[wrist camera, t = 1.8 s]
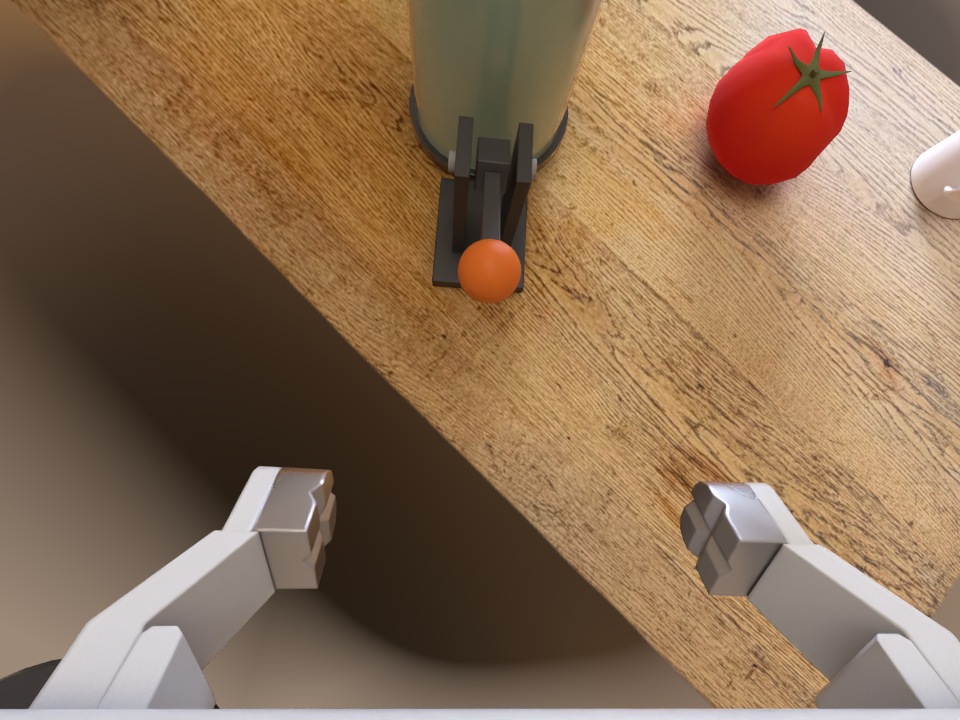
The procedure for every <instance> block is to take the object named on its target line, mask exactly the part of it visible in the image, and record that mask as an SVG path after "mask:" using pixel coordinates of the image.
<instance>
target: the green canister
mask: <svg viewBox="0 0 960 720" xmlns="http://www.w3.org/2000/svg"><path fill="white" fill-rule="evenodd" d="M406 3H407V14H408V25H409V37H410V48H411V59H412V71H413V85H412V88H411V92H410V98H409V109H410V118H411V125H412V129H413V132H414V135H415V137H416V139H417V142H418V143H419V145H420V146H421V148H422V150H423V151H424V152H425V153H426V155H427V156H428V157H429V158H430V159H431V160H432V161H433V162H434V163H435V164H436V165H438V166H439V167H440V168H442V169H443V170H444V171H446V172H448V158H449V151H450V150H453V151H456V146H457V133H458V121H459V116H465V117H473V118H474V125H473V139H472V152H471V166H470V179H469V181H475V170H476V158H477V147H478V138H479V137H487V138H497V139H507V140H510V162H511V158H512V153H513V149H514V144H515V140H516V135H517V131H518V126H519V123H530V124H534V134H533V157H532V159H537V170H536V172H537V171H538V170H540V169H541V168H542V167H544V166H545V165H546V164H547V163H548V162H549V161H550V160H551V158H552V157H553V156H554V155H555V153H556V151H557V150H558V148H559V146H560V144H561V141H562V139H563V136H564V133H565V130H566V126H567V120H568V103H569V100H570V97H571V94H572V92H573V89H574V86H575V83H576V80H577V77H578V74H579V72H580V69H581V66H582V63H583V60H584V57H585V54H586V52H587V49H588V46H589V43H590V40H591V37H592V34H593V32H594V29H595V26H596V23H597V20H598V17H599V14H600V12H601V9H602V6H603V3H604V0H406ZM448 173H450V172H448ZM450 174H451V175H453V176H454V173H450Z"/></svg>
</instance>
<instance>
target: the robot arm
mask: <svg viewBox="0 0 960 720" xmlns="http://www.w3.org/2000/svg"><path fill="white" fill-rule="evenodd" d="M332 486H333V475H332V471H330V470H322V469H304V468H287V467H283V468H280V467H262V466H259V467H258V468H256V469H255V470H254V471H253V472H252V474H251V476H250V478H249V480H248V482H247V484H246V485H245V487H244V489H243V491H242V493H241V495H240V497H239V499H238V501H237V503H236V505H235V506H234V508H233V510H232V513H231V514H230V516H229V518H228V520H227V522H226V524H225V526H224V527H223V529H222V531H213V532H212V533H210V534H209V535H207V536H206V537H205V538H203V539H202V540H201V541H199V542H198V543H196V544H195V545H194V546H192V547H191V548H190V549H188V550H187V551H185V552H184V553H182V554H181V555H180V556H179V557H177V558H176V559H174V560H173V561H171V562H170V563H169V564H167V565H166V566H165V567H163V568H162V569H160V570H159V571H158V572H156V573H155V574H153V575H152V576H151V577H149V578H148V579H147V580H145V581H144V582H142V583H141V584H140V585H138V586H137V587H136V588H134V589H133V590H132V591H130V592H129V593H127V594H126V595H124V596H123V597H122V598H120V599H119V600H117V601H116V602H115V603H113V604H112V605H111V606H109V607H108V608H106V609H105V610H104V611H102V612H101V613H100V614H98V615H97V616H95V617H94V618H93V619H91V620H90V621H88V622H87V624H86V625H85V626H84V628H83V629H82V631H81V632H80V634H79V635H78V637H77V638H76V640H75V641H74V643H73V644H72V645H71V647H70V648H69V650H68V651H67V653H66V654H65V656H64V657H63V659H62V660H61V662H60V663H59V664H58V666H57V667H56V669H55V670H54V672H53V673H52V675H51V676H50V678H49V679H48V681H47V682H46V684H45V685H44V686H43V688H42V689H41V691H40V692H39V694H38V695H37V697H36V698H35V700H34V701H33V703H32V704H31V706H30V707H29V708H28V709H0V720H960V642H959V641H958V640H957V638H956V637H955V636H954V635H953V634H952V633H951V632H950V631H948V630H947V629H945V628H944V627H942V626H941V625H939V624H938V623H936V622H935V621H933V620H932V619H930V618H929V617H927V616H926V615H924V614H923V613H921V612H920V611H918V610H917V609H915V608H914V607H912V606H911V605H910V604H908V603H907V602H905V601H904V600H902V599H901V598H899V597H898V596H896V595H895V594H893V593H892V592H890V591H889V590H887V589H886V588H884V587H883V586H881V585H880V584H878V583H877V582H875V581H874V580H872V579H871V578H869V577H868V576H866V575H865V574H863V573H862V572H860V571H859V570H857V569H856V568H854V567H853V566H851V565H850V564H848V563H847V562H846V561H844V560H843V559H841V558H840V557H838V556H837V555H835V554H834V553H832V552H831V551H829V550H828V549H826V548H825V547H823V546H822V545H814V544H813V543H812V541H811V540H810V539H809V537H808V536H807V534H806V533H805V532H804V530H803V529H802V528H801V526H800V525H799V524H798V522H797V521H796V519H795V518H794V517H793V515H792V514H791V513H790V511H789V510H788V509H787V507H786V506H785V505H784V503H783V502H782V500H781V499H780V498H779V496H778V495H777V494H776V492H775V491H774V490H773V488H772V487H771V486H769V485H768V484H766V483H745V482H744V483H740V482H703V481H700V482H698V483H697V484H696V485H695V486H694V488H693V490H692V492H691V494H692V496H693V498H694V500H693V501H692V502H690V503H689V504H687V505H686V506H685V507H684V509H683V512H682V514H681V524H680V529H681V533H682V537H683V540H684V542H685V544H686V547H687V549H689V550H690V551H691V552H692V553H693V554H695V555H696V556H697V557H698V560H697V563H696V568H697V571H698V573H699V575H700V577H701V579H702V581H703V583H704V585H705V588H706V590H707V592H708V594H709V595H725V596H747V599H748V600H749V601H750V602H751V603H752V604H753V605H754V606H755V607H756V608H757V609H758V610H759V611H760V612H761V613H762V614H763V615H764V616H765V617H766V618H767V619H768V620H769V621H770V622H771V623H772V624H773V625H774V626H775V627H776V628H777V629H778V630H779V631H780V632H781V633H782V634H783V635H784V636H785V637H786V638H787V639H788V640H789V641H790V642H791V643H792V644H793V645H794V646H795V647H796V648H797V649H798V650H799V651H800V652H801V653H802V654H803V655H804V656H805V657H806V658H807V659H808V660H809V661H810V662H811V663H812V664H813V665H814V666H815V667H816V668H817V669H818V670H819V671H820V672H821V673H822V674H823V675H824V676H826V677H827V678H828V679H829V680H830V682H829V683H828V684H827V685H826V686H825V687H824V688H823V689H822V690H821V691H820V692H819V693H818V694H817V696H816V698H815V703H816V705H817V706H818V708H819V709H213V708H214V706H215V703H216V699H215V697H214V695H213V693H212V691H211V689H210V687H209V685H208V683H207V681H206V679H205V677H204V675H203V673H202V670H203V669H204V668H205V667H206V665H207V664H208V663H209V662H210V661H211V660H212V659H213V658H214V657H215V656H216V655H217V654H218V652H219V651H220V650H221V649H222V648H223V647H224V646H225V645H226V644H227V643H228V642H229V641H230V640H231V638H232V637H233V636H234V635H235V634H236V633H237V632H238V631H239V630H240V629H241V628H242V627H243V626H244V624H245V623H246V622H247V621H248V620H249V619H250V618H251V617H252V616H253V615H254V614H255V613H256V612H257V610H258V609H259V608H260V607H261V606H262V605H263V604H264V603H265V602H266V601H267V600H268V599H269V597H270V596H271V595H272V594H273V593H274V592H275V589H314V588H315V589H317V588H318V585H319V582H320V578H321V575H322V571H323V568H324V564H325V561H326V556H325V549H324V546H325V545H327V543H329V542H330V541H331V539H332V535H333V532H334V527H335V521H336V496H335V495H333V494H332V493H331V489H332Z"/></svg>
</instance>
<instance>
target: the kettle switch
mask: <svg viewBox="0 0 960 720" xmlns="http://www.w3.org/2000/svg"><path fill="white" fill-rule="evenodd" d="M509 170H510V140H507V139H497V138H487V137H479V138H478V147H477V158H476V170H475V187H474V190H475V191H477V192H483V198H482V222H481V240H480V241H477V242H475V243H473V244H472V245H470V246H469V247H468V248H467V249H466V250H465V251H464V253H463V254H462V256H461V258H460V261H459V265H458V277H459V281H460V284H461V286H462V288H463V289H464V291H465V292H466V293H467V294H468V295H469V296H470V297H471V298H473V299H474V300H477V301H479V302H483V303H496V302H500V301H502V300H504V299H506V298H507V297H509V296H510V295H511V294H512V293H513V292H514V291H515V289H516V288H517V286H518V284H519V281H520V277H521V264H520V261H519V258H518V256H517V254H516V253H515V251H514V250H513V249H512V248H511V247H510V246H509V245H508V244H506V243H504V242H502V241H500V204H501V194H505V193H506V189H507V183H508V177H509Z"/></svg>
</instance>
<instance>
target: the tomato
mask: <svg viewBox="0 0 960 720" xmlns="http://www.w3.org/2000/svg"><path fill="white" fill-rule="evenodd" d="M824 34H825V32H824ZM824 34H823V36H822V38H821V40H820V42H819V45H818V47H817V48H816V47H815V45H814V43H813V41H812V40H811V38H810V36H809V34H808V33H807V31H806V30H804V29H801V28H799V29H795V30H791V31H787V32H783V33H780V34H776V35H772V36H768V37H767V38H766V39H765V40H763V41H762V42H761V43H759V44H758V45H757V46H755V47H754V48H753V49H752V50H750V51H749V52H748V53H746V55H745V56H744V57H743V59H741V60H740V61H739V62H738V63H737V64H736V65H735V66H733V67H732V68H731V69H730V70H729V71H728V72H727V74H726V75H725V76H724V77H723V78H722V79H721V80H720V81H719V82H718V84H717V86H716V88H715V91H714V93H713V96H712V98H711V100H710V105H709V111H708V116H707V122H706V125H707V134H708V141H709V144H710V147H711V149H712V151H713V152H714V154H715V156H716V158H717V160H718V162H719V163H720V164H721V165H722V166H723V167H724V168H725V169H726V170H727V171H728V172H729V173H730V174H731V175H732V176H734V177H736V178H737V179H739V180H741V181H743V182H745V183H747V184H755V185H771V184H775V183H779V182H782V181H786V180H789V179H792V178H795V177H797V176H798V175H799V174H801V173H802V172H803V171H804V170H806V169H807V168H808V167H809V166H810V165H811V164H812V163H813V161H814V160H815V159H816V158H817V156H818V155H819V154H820V153H821V152H822V151H823V150H824V149H825V148H826V147H827V146H828V144H829V143H830V142H831V141H832V140H833V139H834V138H835V137H836V136H837V135H838V134H839V132H840V131H841V129H842V127H843V124H844V122H845V120H846V117H847V113H848V106H849V85H848V80H847V75H846V73H848V72H851V71H846V69H845V64H844V62H843V61H842V60H841V59H840V58H839V57H838V56H837V55H836V54H835V53H834V51H833V50H829V49H823V48H821V46H822V42H823V38H824Z"/></svg>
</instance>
